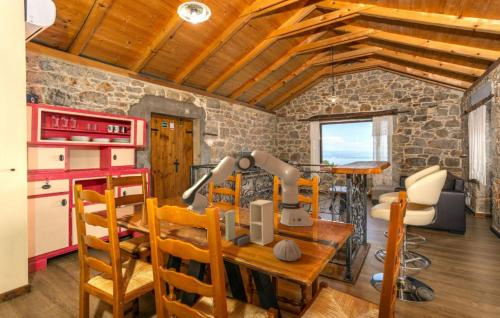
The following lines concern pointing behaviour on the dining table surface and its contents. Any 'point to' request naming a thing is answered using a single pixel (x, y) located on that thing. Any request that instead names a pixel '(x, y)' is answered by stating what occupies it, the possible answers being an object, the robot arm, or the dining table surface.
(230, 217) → the door
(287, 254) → the sea urchin shell
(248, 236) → the cabinet
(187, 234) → the dining table surface
